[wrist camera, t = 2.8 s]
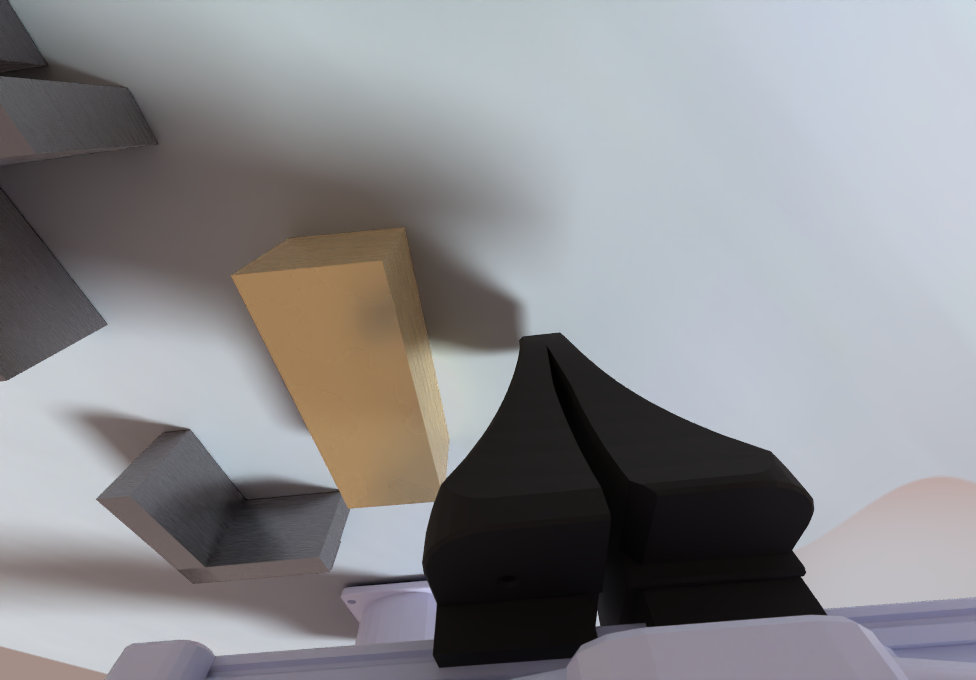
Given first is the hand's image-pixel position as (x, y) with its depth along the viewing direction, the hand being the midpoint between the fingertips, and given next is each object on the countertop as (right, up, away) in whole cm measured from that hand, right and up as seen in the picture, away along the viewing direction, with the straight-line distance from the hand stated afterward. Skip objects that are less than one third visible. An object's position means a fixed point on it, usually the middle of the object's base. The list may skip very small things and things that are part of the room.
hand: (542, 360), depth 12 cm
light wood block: (-6, 0, +1) cm, 6 cm away
